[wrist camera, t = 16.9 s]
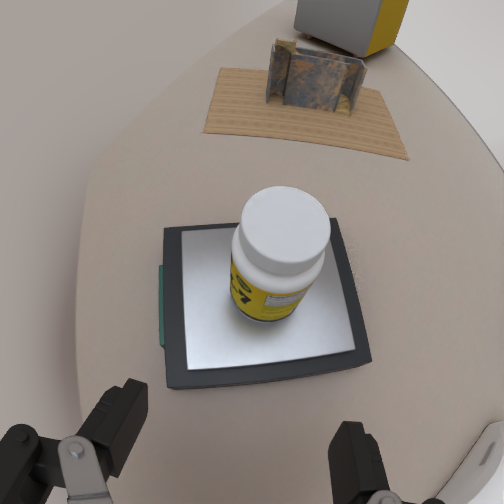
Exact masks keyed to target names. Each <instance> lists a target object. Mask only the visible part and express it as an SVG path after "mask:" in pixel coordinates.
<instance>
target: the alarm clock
mask: <svg viewBox="0 0 504 504" xmlns="http://www.w3.org/2000/svg"><path fill="white" fill-rule="evenodd" d="M408 2H409V0H298V5H297V11H296V17H295V22H294V28H295V29H296V30H297V31H300V32H303V33H306V34H307V38H308V39H311V37H312V36H313V37H316V38H318V39H321V40H323V41H326V42H328V43H330V44H333V45H335V46H337V47H340V48H342V49H344V50H346V51H348V52H351V53H353V58H356V59H357V58H358V57H361V58H362V57H363V58H364V57H367V56H369V55H371V54H373V53H375V52H377V51H380V50H382V49H384V48H386V47H389V46H391V45H393V44H394V42H395V40H396V37H397V34H398V31H399V29H400V26H401V23H402V20H403V17H404V14H405V11H406V8H407V5H408Z"/></svg>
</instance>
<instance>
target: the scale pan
mask: <svg viewBox="0 0 504 504" xmlns="http://www.w3.org/2000/svg"><path fill="white" fill-rule="evenodd" d="M236 228H237V227H236ZM236 228H221V229H206V230H192V231H182V232H181V247H182V291H183V315H184V333H185V349H186V363H187V370H188V371H189V372H193V371H209V370H222V369H234V368H244V367H254V366H263V365H271V364H279V363H287V362H294V361H301V360H307V359H313V358H320V357H326V356H331V355H337V354H342V353H348V352H352V351H354V350H355V343H354V339H353V334H352V329H351V324H350V320H349V315H348V311H347V306H346V302H345V297H344V293H343V289H342V285H341V281H340V276H339V272H338V268H337V264H336V261H335V257H334V253H333V249H332V245H331V241H330V238H329V241H328V243H327V245H326V247H325V257H324V263H323V266H322V269H321V271H320V273H319V275H318V277H317V278H316V279H315V281H314V282H313V284H312V285H311V287H310V288H309V290H308V291H307V293H306V294H305V296H304V297H303V299H302V300H301V302H300V303H299V305H298V306H297V308H296V309H295V310H294V311H293V312H292V314H290V315H289V316H288V317H286V318H285V319H283V320H281V321H278V322H274V323H259V322H256V321H253V320H251V319H249V318H247V317H245V316H244V315H243V314H242V313H241V312H240V311H239V310H238V309H237V307H236V306H235V304H234V302H233V300H232V297H231V293H230V266H231V244H232V238H233V235H234V232H235V230H236Z"/></svg>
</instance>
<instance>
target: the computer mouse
mask: <svg viewBox="0 0 504 504" xmlns="http://www.w3.org/2000/svg"><path fill="white" fill-rule="evenodd" d="M435 498H437V499H440V500H442V501H443V502H444V503H445V504H504V421H500V422H496V423H492V424H490V425H488V426H487V427H486V429H485V430H484V431H483V433H482V435H481V436H480V438H479V439H478V441H477V442H476V444H475V445H474V446H473V448H472V449H471V451H470V452H469V454H468V455H467V457H466V458H465V459H464V461H463V462H462V464H461V465H460V466H459V468H458V469H457V471H456V472H455V473H454V475H453V476H452V477H451V479H450V480H449V481H448V482H447V484H446V485H445V486H444V487H443V489H442V490H441V491H440V492H439V493H438V495H437V496H436V497H435Z"/></svg>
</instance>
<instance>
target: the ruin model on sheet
mask: <svg viewBox="0 0 504 504" xmlns="http://www.w3.org/2000/svg"><path fill="white" fill-rule="evenodd" d="M295 46H296V41H295V40H294V41H288V40H280V39H278V38H277V39H276V42H275V44H272V51H271V58H270V66H269V71H264V70H254V69H240V68H222V67H221V69H220V72H219V76H218V79H217V83H216V86H215V90H214V94H213V97H212V101H211V105H210V109H209V112H208V116H207V120H206V124H205V128H204V132H203V133H219V134H235V135H248V136H259V137H270V138H279V139H288V140H296V141H304V142H311V143H319V144H325V145H332V146H338V147H344V148H350V149H356V150H361V151H366V152H372V153H377V154H382V155H386V156H391V157H396V158H400V159H405V160H409V158H408V156H407V153H406V151H405V148H404V146H403V143H402V141H401V138H400V136H399V133H398V131H397V129H396V126H395V124H394V122H393V120H392V117H391V115H390V113H389V111H388V109H387V107H386V104H385V102H384V100H383V98H382V96H381V94H380V92H379V91H378V90H374V89H370V88H366V87H361V86H362V83H363V80H364V77H365V74H366V72H367V67H366V66H365V64H364V62H363V60H360V59H356V58H352V57H348V56H343V55H339V54H334V53H329V52H324V51H318V50H313V49H307V48H300V47H295Z"/></svg>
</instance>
